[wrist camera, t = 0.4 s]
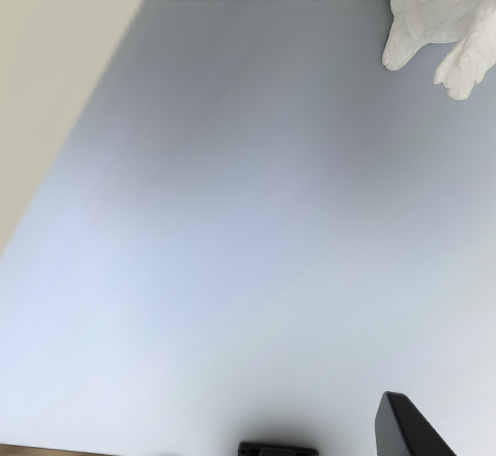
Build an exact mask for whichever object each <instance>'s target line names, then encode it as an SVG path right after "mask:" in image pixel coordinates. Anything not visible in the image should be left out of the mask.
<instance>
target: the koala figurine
mask: <svg viewBox="0 0 496 456" xmlns="http://www.w3.org/2000/svg"><path fill="white" fill-rule="evenodd" d="M390 6H391V11H392V13H393V15H394V20H393V23H392V27H391V29H390V35H389V39H388V41H387V44H386V47H385V50H384V53H383V55H382V63H383V65H384V66H386V68H387V69H389V70H392V71H397V70H398V69H400V68H402V67H403V66H404V65H405V64H406V63H407V62H408V61H409V60H410V59H411V58H412V57H413V56H414V54H415V53H416V52H417V51H418V50H419V49H420V48H421V47H422V46H424V45H426V44H428V43H433V42H434V43H437V44H438V43H441V44H443V43H444V44H445V43H447V42H448V43H450V42H455V41H457V43H456V44H455V45H454V46H453V47H452V49H451V50H450V51H449V53H448V54H447V55H446V56H445V57H444V58H443V60H442V61H441V63H440V64H439V65H438V67H437V68H436V72H435V75H434V79H433V83H434V84H438V83H442V84H443V85H444V86H445V87H446V88H447V95H448V96H449V97H451V98H452V99H454V100H463V99H467V98H468V97H469V95H470V93H471V91H472V88H473V86H474V83H475V84H479V83H480V82H481V81H482V80H483V78H484V75H485V72H486V71H487V70H488V69H490V68H492V67H493V66H494V65H495V63H496V0H391V2H390Z"/></svg>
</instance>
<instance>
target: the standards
mask: <svg viewBox="0 0 496 456" xmlns="http://www.w3.org/2000/svg"><path fill="white" fill-rule="evenodd" d="M0 456H109V455H99V454H89V453H80V452H70V451H60V450H50V449H40V448H30V447H21V446H11V445H1V444H0Z"/></svg>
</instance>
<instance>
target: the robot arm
mask: <svg viewBox="0 0 496 456" xmlns="http://www.w3.org/2000/svg"><path fill="white" fill-rule="evenodd" d="M375 434H376V445H377V455H378V456H457V455H456V454H455V453H454V452H453V451H452V449H451V448H450V447H449V446H448V445H447V444H446V442H445V441H444V440H443V439H442V438H441V436H440V435H439V434H438V433H437V432H436V430H435V429H434V428H433V427H432V426H431V424H430V423H429V422H428V421H427V420H426V419H425V417H424V416H423V415H422V414H421V413H420V411H419V410H418V409H417V408H416V407H415V405H414V404H413V403H412V402H411V401H410V399H409V398H408V397H407V396H406V395H404V394H402V393H396V392H389V391H386V392H384V394H383V396H382V399H381V402H380V405H379V408H378V411H377V415H376V418H375ZM238 456H319V453H318V452H317V451H316V450H311V449H300V448H289V447H278V446H268V445H257V444H246V443H242V444H240V445H239V448H238Z"/></svg>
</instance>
